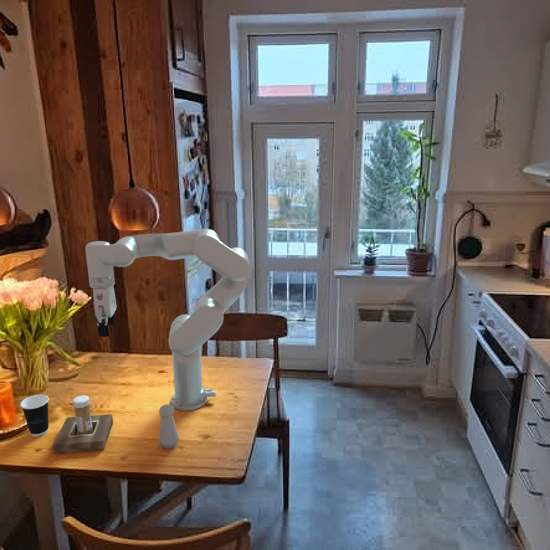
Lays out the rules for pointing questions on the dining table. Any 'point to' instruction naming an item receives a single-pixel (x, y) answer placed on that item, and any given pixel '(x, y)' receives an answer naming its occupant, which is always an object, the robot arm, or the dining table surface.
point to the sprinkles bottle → (83, 415)
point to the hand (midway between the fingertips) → (107, 330)
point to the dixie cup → (36, 414)
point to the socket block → (83, 443)
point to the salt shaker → (167, 427)
